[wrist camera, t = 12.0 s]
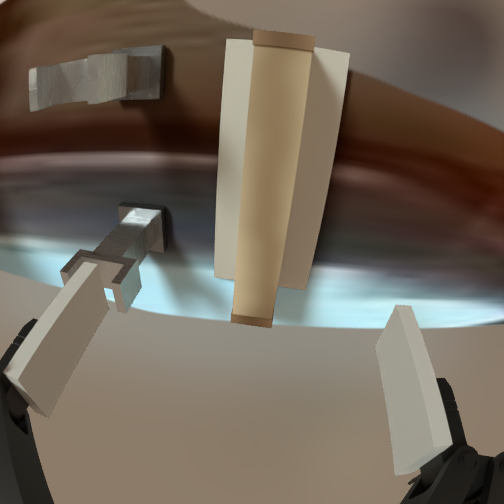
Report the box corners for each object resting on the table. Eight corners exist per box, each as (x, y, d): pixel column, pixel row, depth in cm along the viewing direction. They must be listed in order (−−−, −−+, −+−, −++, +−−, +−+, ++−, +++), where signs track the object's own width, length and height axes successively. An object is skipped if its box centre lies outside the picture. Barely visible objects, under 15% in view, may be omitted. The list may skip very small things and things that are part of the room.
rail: (240, 281, 34) (230, 322, 29) (262, 39, 21) (253, 29, 16) (275, 286, 34) (271, 328, 29) (309, 45, 21) (315, 36, 15)
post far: (123, 241, 34) (71, 307, 24) (118, 201, 31) (56, 261, 22) (171, 248, 34) (128, 321, 24) (169, 207, 31) (117, 273, 21)
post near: (112, 99, 25) (31, 125, 16) (113, 50, 22) (29, 55, 13) (168, 97, 25) (99, 119, 15) (171, 45, 22) (100, 37, 13)
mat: (215, 273, 35) (214, 277, 34) (228, 39, 22) (226, 38, 21) (305, 286, 34) (305, 290, 34) (348, 54, 21) (349, 53, 20)
